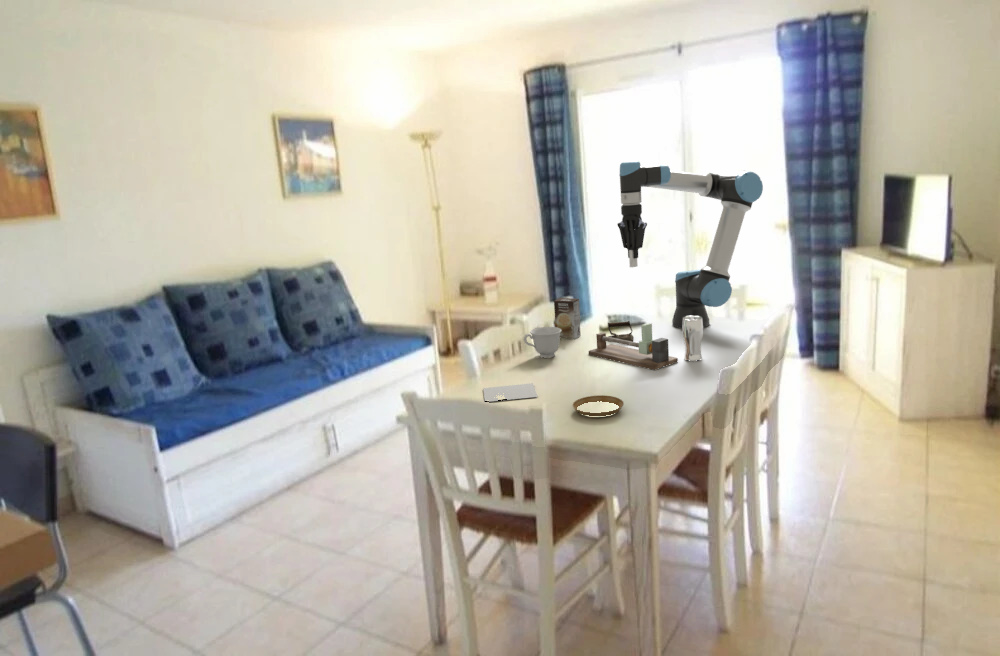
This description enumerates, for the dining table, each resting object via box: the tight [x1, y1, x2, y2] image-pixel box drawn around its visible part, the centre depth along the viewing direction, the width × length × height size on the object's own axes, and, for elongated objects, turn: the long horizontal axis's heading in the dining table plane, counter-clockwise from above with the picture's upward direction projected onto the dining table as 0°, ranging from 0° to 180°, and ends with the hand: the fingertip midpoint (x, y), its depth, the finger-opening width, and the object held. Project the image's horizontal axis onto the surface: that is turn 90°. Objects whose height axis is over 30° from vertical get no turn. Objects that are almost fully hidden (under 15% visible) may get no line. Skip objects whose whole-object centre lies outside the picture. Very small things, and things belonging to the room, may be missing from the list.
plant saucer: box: [572, 394, 624, 416], centre depth 199 cm, size 15×15×3 cm
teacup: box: [523, 326, 562, 359], centre depth 259 cm, size 12×15×10 cm
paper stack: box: [482, 383, 538, 403], centre depth 226 cm, size 23×25×1 cm
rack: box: [588, 332, 679, 371], centre depth 247 cm, size 12×32×9 cm, turn 37°
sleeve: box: [638, 322, 654, 355], centre depth 240 cm, size 5×4×10 cm
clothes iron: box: [607, 320, 634, 342], centre depth 273 cm, size 7×11×10 cm, turn 78°
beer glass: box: [681, 316, 704, 362], centre depth 239 cm, size 7×7×15 cm
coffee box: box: [553, 297, 581, 340], centre depth 284 cm, size 9×6×16 cm
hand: (633, 266), depth 260 cm, fingers closed
